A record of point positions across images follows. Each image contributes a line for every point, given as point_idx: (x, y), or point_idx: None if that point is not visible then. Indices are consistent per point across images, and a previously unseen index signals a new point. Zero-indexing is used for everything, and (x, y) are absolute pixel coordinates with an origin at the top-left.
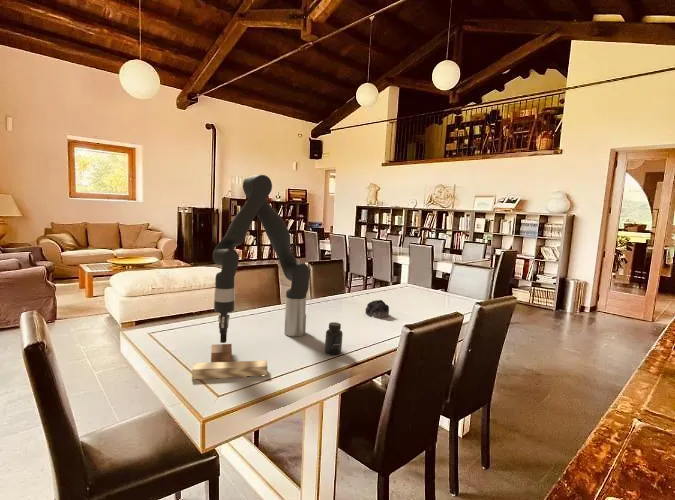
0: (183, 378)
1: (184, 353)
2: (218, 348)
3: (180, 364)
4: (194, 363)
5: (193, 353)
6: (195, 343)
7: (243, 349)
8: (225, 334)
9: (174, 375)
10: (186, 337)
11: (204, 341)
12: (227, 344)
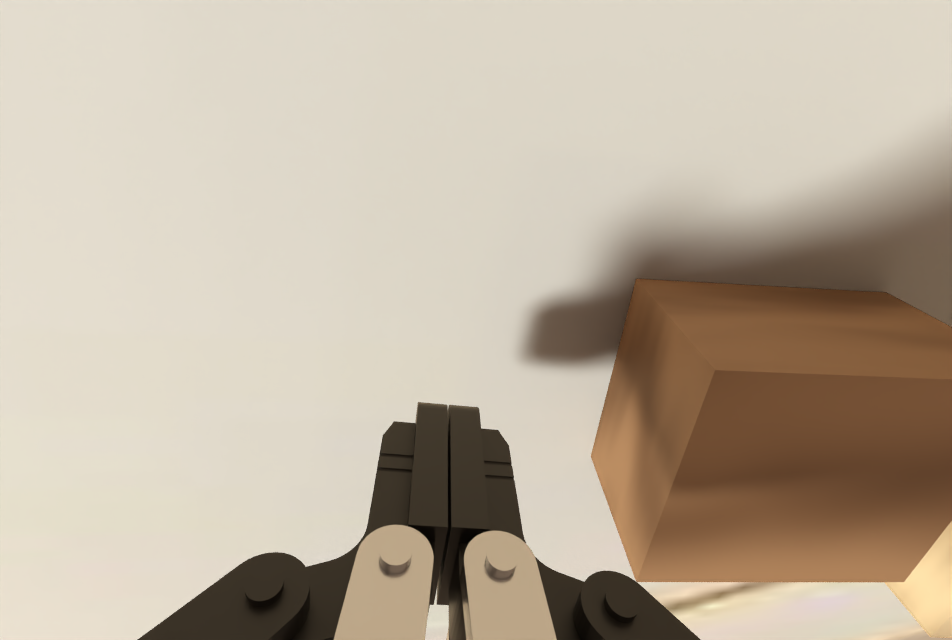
0: None
1: (435, 620)
2: (811, 524)
3: None
4: (937, 636)
5: None
6: (184, 575)
7: (443, 79)
8: (487, 527)
9: (816, 632)
10: (13, 637)
11: (113, 516)
12: (715, 425)
